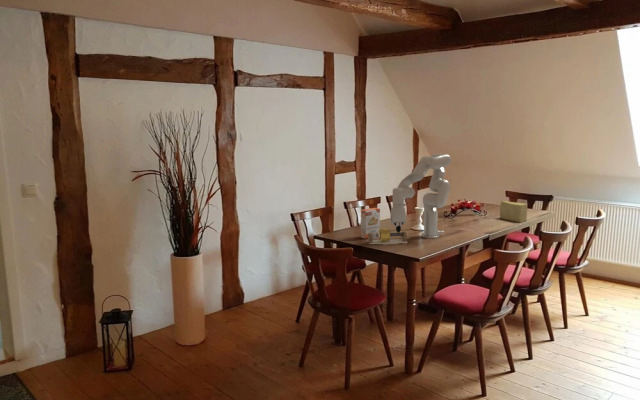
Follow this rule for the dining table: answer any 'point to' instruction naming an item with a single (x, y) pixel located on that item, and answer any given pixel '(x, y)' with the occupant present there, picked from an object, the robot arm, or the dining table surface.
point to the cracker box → (370, 221)
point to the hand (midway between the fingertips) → (398, 231)
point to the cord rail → (396, 241)
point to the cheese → (513, 211)
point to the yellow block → (384, 234)
